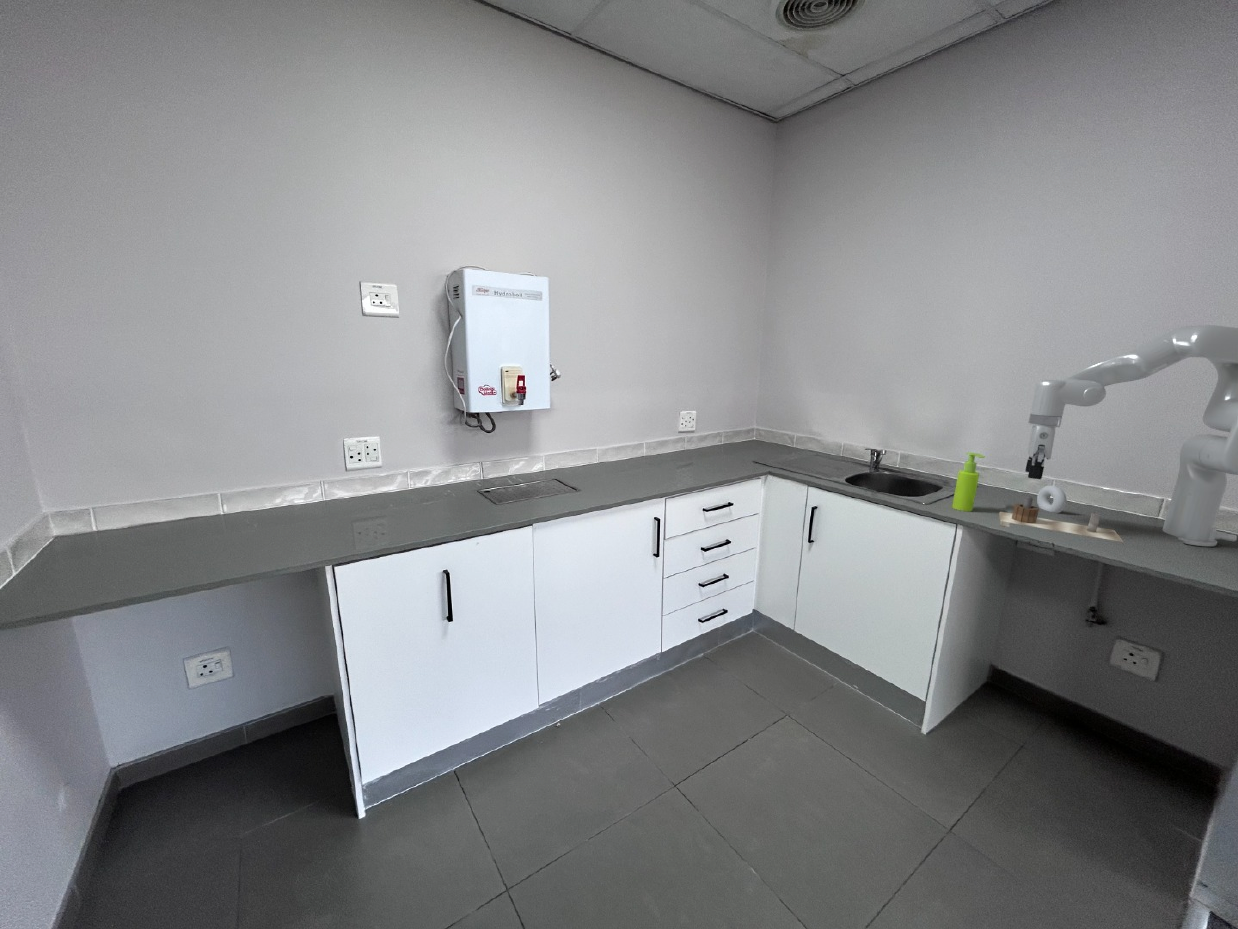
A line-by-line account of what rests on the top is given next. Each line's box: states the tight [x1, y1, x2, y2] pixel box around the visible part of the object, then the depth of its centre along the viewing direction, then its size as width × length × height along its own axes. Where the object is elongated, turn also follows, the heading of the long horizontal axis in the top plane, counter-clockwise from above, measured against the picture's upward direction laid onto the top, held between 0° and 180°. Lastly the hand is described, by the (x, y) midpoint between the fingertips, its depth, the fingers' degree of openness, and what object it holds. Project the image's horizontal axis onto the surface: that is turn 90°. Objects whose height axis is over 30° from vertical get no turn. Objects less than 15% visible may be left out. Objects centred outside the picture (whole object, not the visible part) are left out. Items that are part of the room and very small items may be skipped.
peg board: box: [998, 495, 1124, 543], centre depth 153 cm, size 28×12×10 cm, turn 55°
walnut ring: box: [1011, 503, 1040, 523], centre depth 158 cm, size 6×6×4 cm
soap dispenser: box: [951, 452, 985, 512], centre depth 171 cm, size 6×7×20 cm
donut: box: [1036, 485, 1067, 514], centre depth 169 cm, size 10×4×10 cm, turn 179°
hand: (1033, 475), depth 155 cm, fingers open, 9 cm apart
